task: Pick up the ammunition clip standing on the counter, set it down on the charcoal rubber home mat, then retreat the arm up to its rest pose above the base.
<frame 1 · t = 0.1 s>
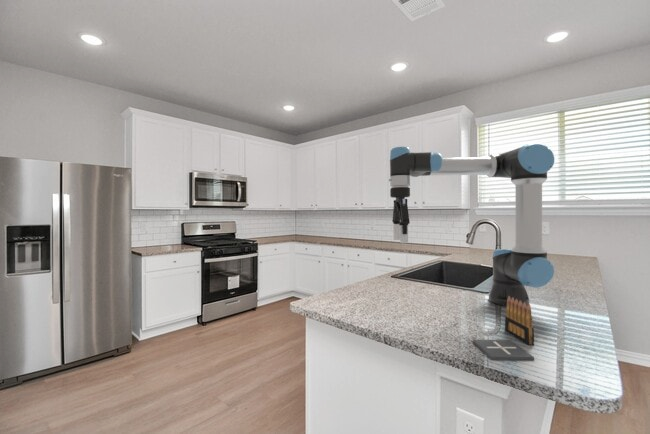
hand: (400, 241, 120), 28 cm above the counter, fingers open, 13 cm apart
home mat: (501, 350, 86), on the counter
ammunition clip: (518, 338, 95), on the counter
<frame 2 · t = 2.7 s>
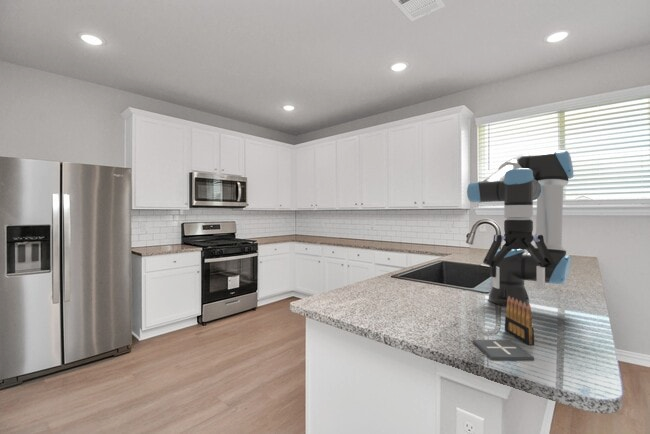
hand: (518, 287, 95), 16 cm above the counter, fingers open, 13 cm apart
nothing on the counter moved.
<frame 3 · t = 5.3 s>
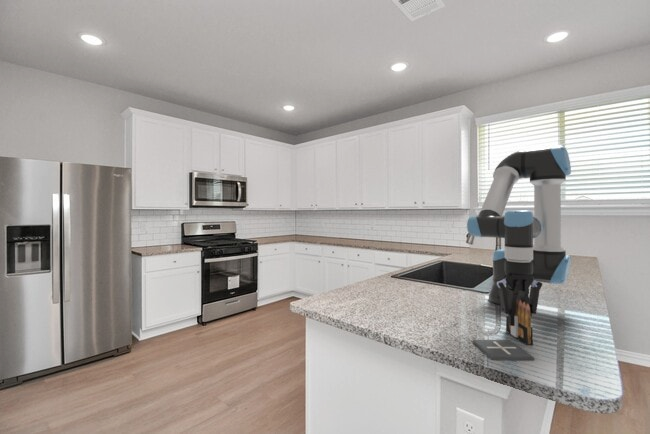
hand: (518, 335, 95), 1 cm above the counter, fingers closed on ammunition clip, 2 cm apart
ammunition clip: (518, 338, 95), on the counter, touching gripper
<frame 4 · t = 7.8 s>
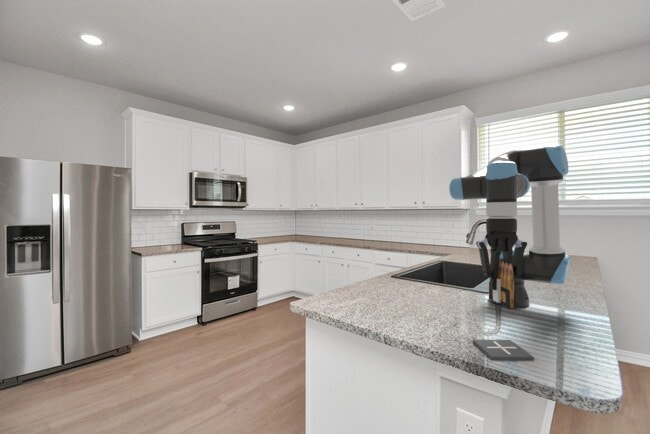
hand: (501, 301, 86), 14 cm above the counter, fingers closed on ammunition clip, 2 cm apart
ammunition clip: (501, 304, 86), point 13 cm above the counter, touching gripper
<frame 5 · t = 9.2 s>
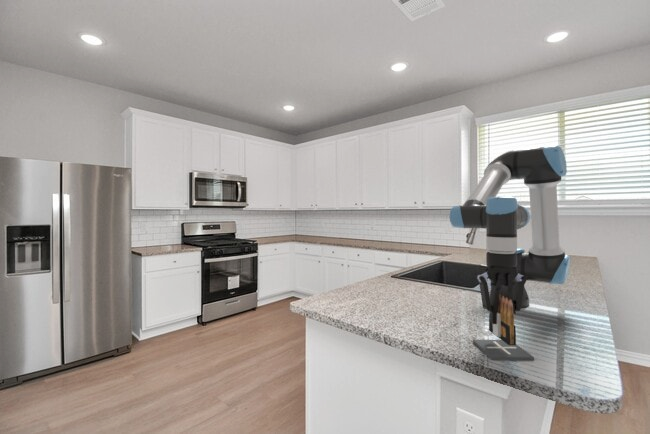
hand: (501, 334, 86), 4 cm above the counter, fingers closed on ammunition clip, 2 cm apart
ammunition clip: (501, 338, 86), point 4 cm above the counter, touching gripper
when the fingers open (2 cm above the counter, at t = 10.3 s): ammunition clip stays where it is, resting on home mat.
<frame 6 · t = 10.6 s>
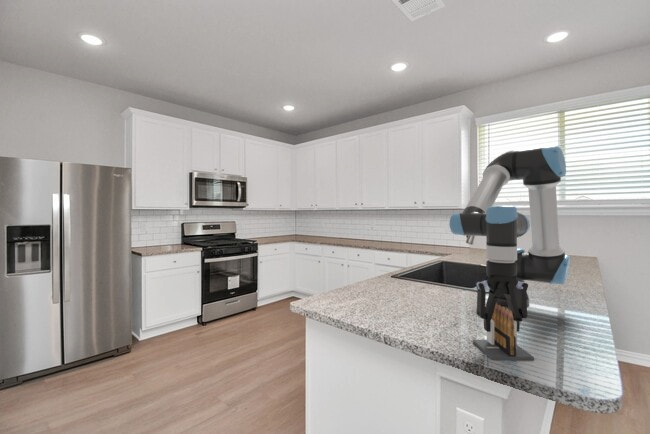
hand: (501, 342, 86), 2 cm above the counter, fingers open, 5 cm apart
ammunition clip: (501, 348, 86), point 1 cm above the counter, touching home mat
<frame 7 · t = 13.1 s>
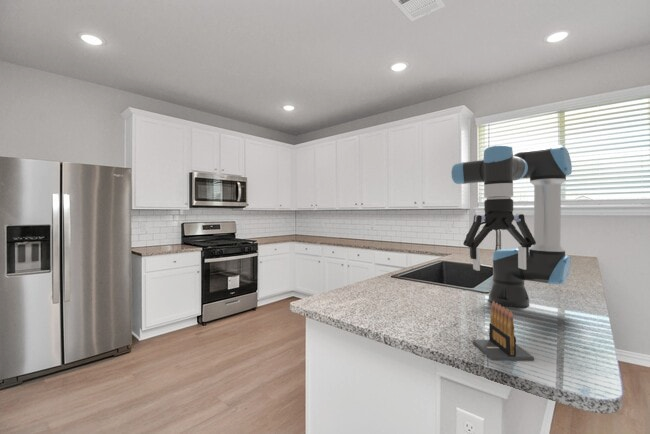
hand: (499, 269, 92), 22 cm above the counter, fingers open, 13 cm apart
nothing on the counter moved.
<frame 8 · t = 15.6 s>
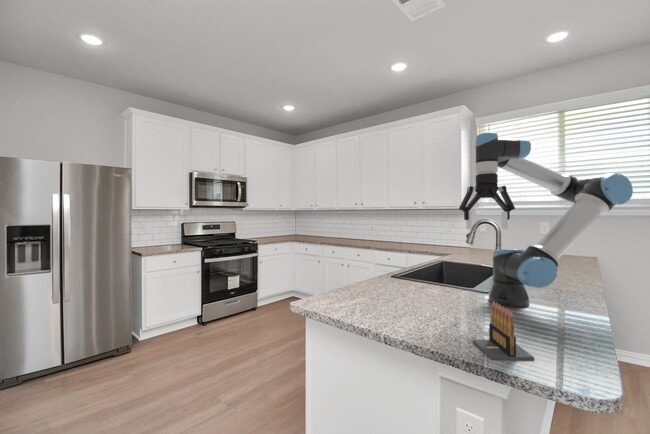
hand: (486, 228, 118), 33 cm above the counter, fingers open, 13 cm apart
nothing on the counter moved.
at the end: ammunition clip 0.1 cm from the home mat (horizontally); ammunition clip point 0.7 cm above the counter; the gripper is holding nothing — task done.
